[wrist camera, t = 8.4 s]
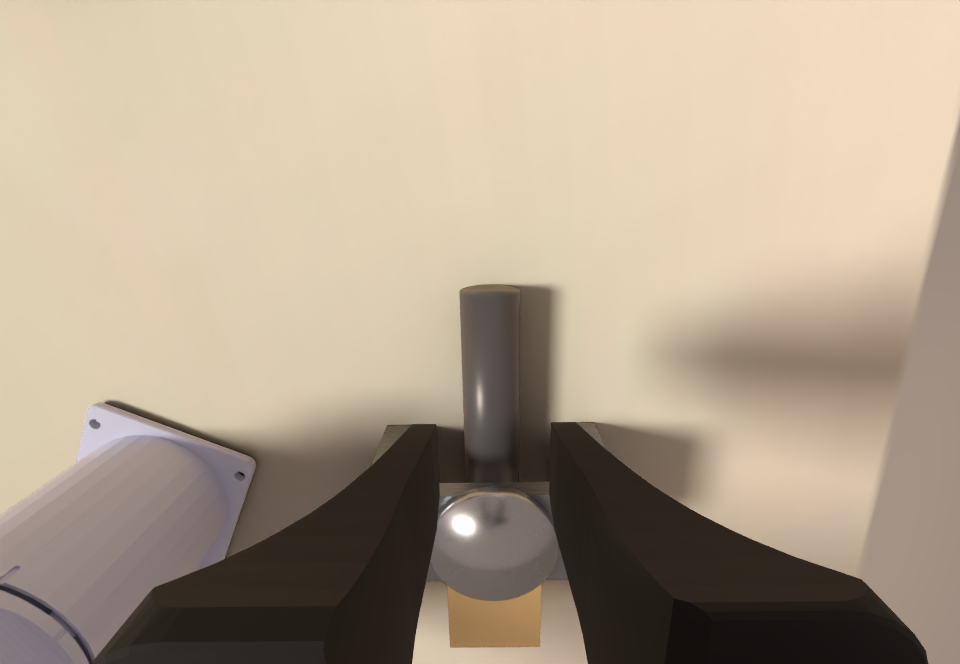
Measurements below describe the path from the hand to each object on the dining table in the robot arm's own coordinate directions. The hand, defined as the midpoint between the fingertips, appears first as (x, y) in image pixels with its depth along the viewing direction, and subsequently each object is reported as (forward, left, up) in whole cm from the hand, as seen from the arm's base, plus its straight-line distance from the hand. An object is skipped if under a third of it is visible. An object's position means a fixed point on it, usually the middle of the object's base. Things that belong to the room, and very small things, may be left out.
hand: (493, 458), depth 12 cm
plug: (-5, -3, -10) cm, 12 cm away
